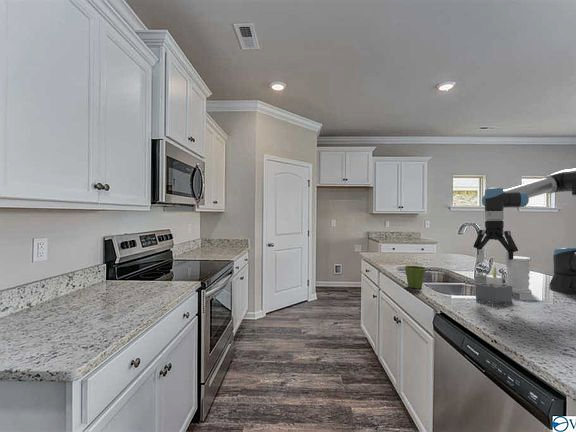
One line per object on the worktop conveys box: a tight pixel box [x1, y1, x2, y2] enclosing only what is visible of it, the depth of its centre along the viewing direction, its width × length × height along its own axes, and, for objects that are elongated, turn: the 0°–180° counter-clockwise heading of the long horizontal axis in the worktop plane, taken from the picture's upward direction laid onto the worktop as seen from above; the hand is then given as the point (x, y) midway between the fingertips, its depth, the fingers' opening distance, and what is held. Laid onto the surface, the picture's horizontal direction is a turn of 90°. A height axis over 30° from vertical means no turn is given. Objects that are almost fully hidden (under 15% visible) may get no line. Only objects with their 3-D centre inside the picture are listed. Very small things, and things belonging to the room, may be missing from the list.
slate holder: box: [475, 283, 513, 304], centre depth 154 cm, size 11×10×7 cm
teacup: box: [473, 274, 505, 287], centre depth 172 cm, size 14×11×8 cm
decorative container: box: [505, 255, 532, 295], centre depth 171 cm, size 12×12×18 cm
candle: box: [486, 266, 503, 288], centre depth 154 cm, size 6×6×15 cm
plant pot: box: [403, 265, 427, 289], centre depth 181 cm, size 12×12×11 cm
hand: (494, 264), depth 154 cm, fingers open, 13 cm apart
